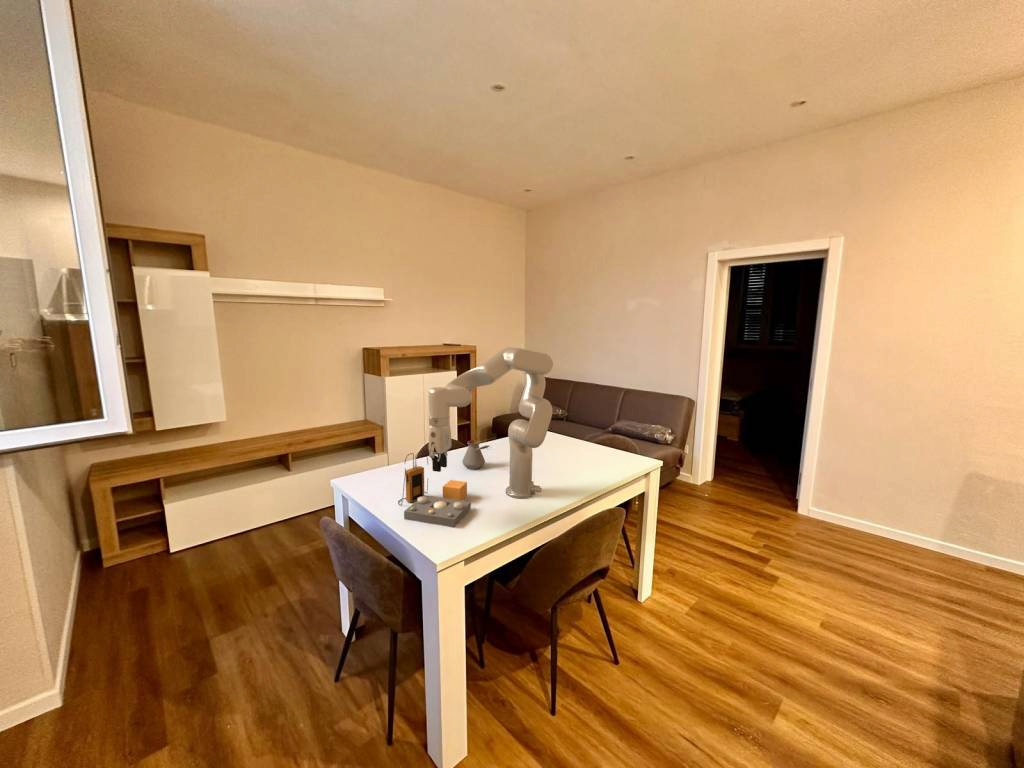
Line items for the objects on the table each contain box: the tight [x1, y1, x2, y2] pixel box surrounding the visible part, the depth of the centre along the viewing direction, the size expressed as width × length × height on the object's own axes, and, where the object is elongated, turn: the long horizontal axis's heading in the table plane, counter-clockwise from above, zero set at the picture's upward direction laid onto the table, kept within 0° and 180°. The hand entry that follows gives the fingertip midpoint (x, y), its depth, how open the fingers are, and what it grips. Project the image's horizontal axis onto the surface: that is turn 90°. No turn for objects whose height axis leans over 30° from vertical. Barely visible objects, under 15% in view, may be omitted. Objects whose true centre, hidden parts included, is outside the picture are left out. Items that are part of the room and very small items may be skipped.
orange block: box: [442, 479, 468, 501], centre depth 166 cm, size 7×7×6 cm
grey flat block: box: [403, 494, 472, 528], centre depth 151 cm, size 20×15×4 cm
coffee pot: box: [461, 439, 491, 470], centre depth 198 cm, size 21×12×15 cm, turn 33°
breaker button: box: [434, 501, 447, 509], centre depth 153 cm, size 5×5×3 cm
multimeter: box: [397, 450, 429, 506], centre depth 165 cm, size 15×10×20 cm
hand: (439, 468), depth 151 cm, fingers open, 4 cm apart
